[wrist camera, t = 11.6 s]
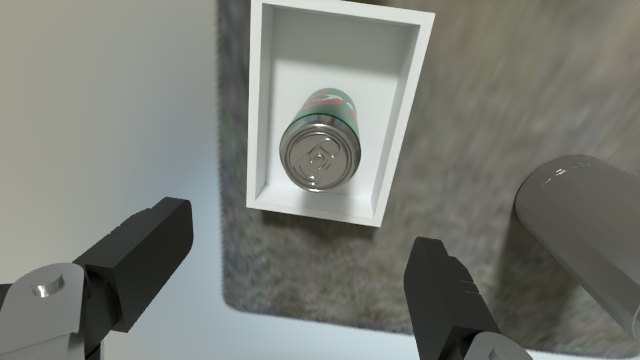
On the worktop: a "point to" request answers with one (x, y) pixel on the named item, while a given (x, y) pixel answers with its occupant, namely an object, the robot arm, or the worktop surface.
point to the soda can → (322, 142)
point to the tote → (340, 73)
